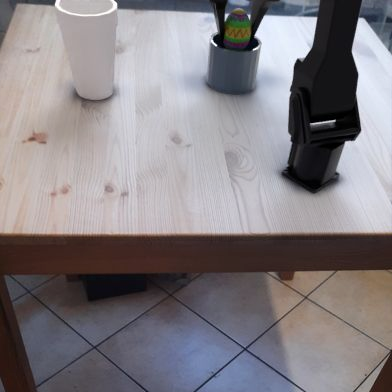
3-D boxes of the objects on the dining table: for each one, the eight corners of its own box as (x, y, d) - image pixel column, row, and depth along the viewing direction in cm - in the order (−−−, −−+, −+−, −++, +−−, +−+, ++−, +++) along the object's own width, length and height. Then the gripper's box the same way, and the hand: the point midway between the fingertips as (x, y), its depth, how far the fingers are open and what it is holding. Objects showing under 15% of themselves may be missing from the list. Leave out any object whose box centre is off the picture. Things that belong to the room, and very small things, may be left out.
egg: (215, 45, 85) (218, 6, 81) (235, 40, 88) (240, 0, 83) (233, 56, 83) (238, 16, 79) (254, 50, 85) (260, 10, 81)
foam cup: (70, 106, 81) (57, 17, 71) (64, 80, 86) (51, -7, 76) (126, 102, 83) (122, 15, 73) (117, 77, 88) (112, -8, 78)
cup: (264, 85, 90) (272, 43, 85) (231, 99, 86) (237, 56, 81) (230, 67, 94) (234, 26, 88) (196, 79, 90) (199, 37, 84)
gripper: (202, -61, 66) (194, 63, 78) (328, -59, 69) (302, 59, 82) (183, -83, 72) (179, 34, 84) (300, -81, 76) (279, 31, 88)
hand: (235, 40), depth 84 cm, fingers closed on egg, 5 cm apart
